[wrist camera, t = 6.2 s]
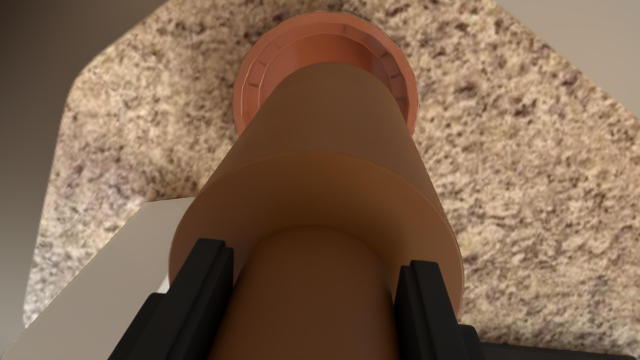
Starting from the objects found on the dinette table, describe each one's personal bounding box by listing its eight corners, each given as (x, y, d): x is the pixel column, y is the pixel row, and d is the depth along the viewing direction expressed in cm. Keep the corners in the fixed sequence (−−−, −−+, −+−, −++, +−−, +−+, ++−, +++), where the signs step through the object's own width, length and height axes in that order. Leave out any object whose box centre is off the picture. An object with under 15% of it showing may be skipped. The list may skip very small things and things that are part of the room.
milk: (145, 201, 37) (-96, 448, 17) (219, 192, 37) (63, 437, 16) (164, 267, 40) (-28, 557, 19) (235, 260, 39) (115, 551, 18)
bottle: (413, 68, 22) (632, 332, 5) (391, 205, 24) (488, 672, 8) (263, 54, 22) (-6, 266, 5) (257, 191, 24) (68, 622, 8)
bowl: (420, 18, 32) (433, 21, 27) (395, 178, 36) (402, 202, 32) (248, 1, 32) (234, 3, 27) (243, 163, 36) (231, 186, 32)
